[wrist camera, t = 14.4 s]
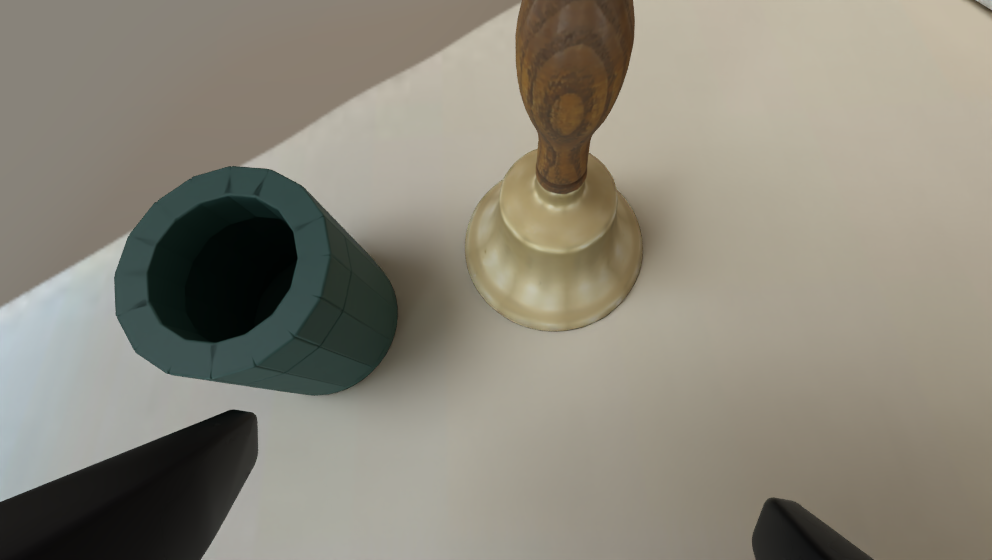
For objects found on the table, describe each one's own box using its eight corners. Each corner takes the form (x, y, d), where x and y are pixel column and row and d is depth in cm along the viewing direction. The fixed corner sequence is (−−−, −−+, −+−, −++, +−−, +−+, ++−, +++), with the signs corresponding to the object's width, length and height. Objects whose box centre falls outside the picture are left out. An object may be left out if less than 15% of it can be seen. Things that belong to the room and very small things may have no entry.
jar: (425, 290, 23) (371, 222, 16) (343, 424, 22) (238, 422, 14) (308, 225, 25) (206, 135, 17) (223, 348, 23) (69, 308, 16)
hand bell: (679, 261, 23) (966, -79, 8) (535, 368, 22) (530, 229, 7) (567, 137, 25) (614, -313, 10) (432, 230, 24) (255, -108, 9)
